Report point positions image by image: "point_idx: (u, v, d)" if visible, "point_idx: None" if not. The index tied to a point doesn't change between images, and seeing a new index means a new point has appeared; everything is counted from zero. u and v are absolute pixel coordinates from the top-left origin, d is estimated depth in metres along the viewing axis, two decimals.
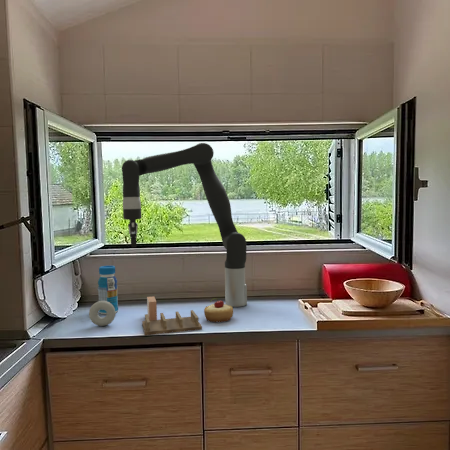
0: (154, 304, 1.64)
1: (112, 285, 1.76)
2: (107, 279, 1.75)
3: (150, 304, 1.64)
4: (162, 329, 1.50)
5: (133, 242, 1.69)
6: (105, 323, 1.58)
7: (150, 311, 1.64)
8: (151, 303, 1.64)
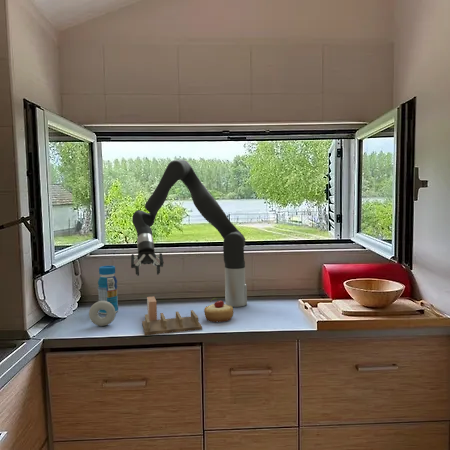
0: (154, 304, 1.64)
1: (112, 285, 1.76)
2: (107, 279, 1.75)
3: (150, 304, 1.64)
4: (162, 329, 1.50)
5: None
6: (105, 323, 1.58)
7: (150, 311, 1.64)
8: (151, 303, 1.64)
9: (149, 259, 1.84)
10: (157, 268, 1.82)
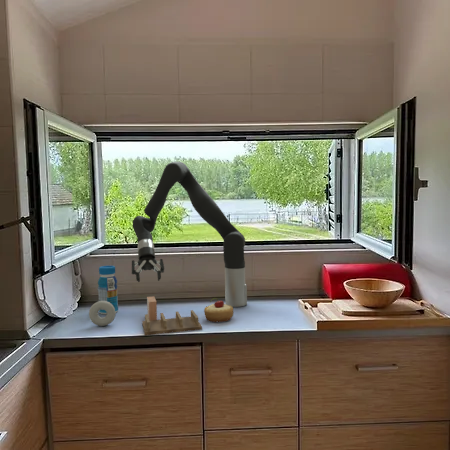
0: (154, 304, 1.64)
1: (112, 285, 1.76)
2: (107, 279, 1.75)
3: (150, 304, 1.64)
4: (162, 329, 1.50)
5: (136, 277, 1.79)
6: (105, 323, 1.58)
7: (150, 311, 1.64)
8: (151, 303, 1.64)
9: (150, 265, 1.83)
10: (158, 274, 1.81)
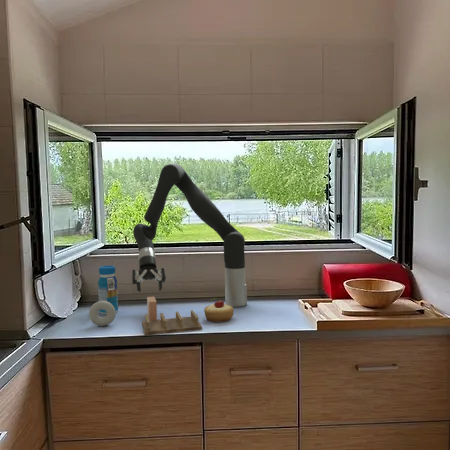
0: (154, 304, 1.64)
1: (112, 285, 1.76)
2: (107, 279, 1.75)
3: (150, 304, 1.64)
4: (162, 329, 1.50)
5: (137, 287, 1.75)
6: (105, 323, 1.58)
7: (150, 311, 1.64)
8: (151, 303, 1.64)
9: (151, 274, 1.79)
10: (159, 284, 1.76)
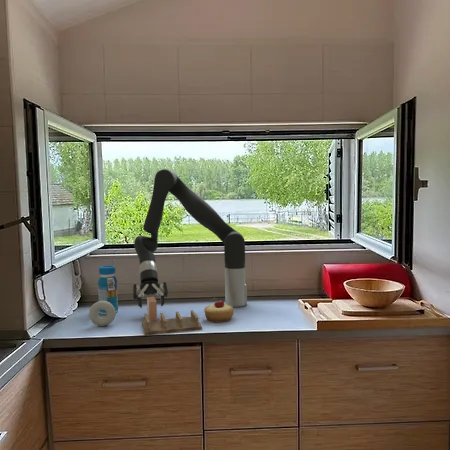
0: (154, 304, 1.64)
1: (112, 285, 1.76)
2: (107, 279, 1.75)
3: (150, 304, 1.64)
4: (162, 329, 1.50)
5: (138, 302, 1.69)
6: (105, 323, 1.58)
7: (150, 311, 1.64)
8: (151, 303, 1.64)
9: (152, 289, 1.73)
10: (161, 299, 1.70)
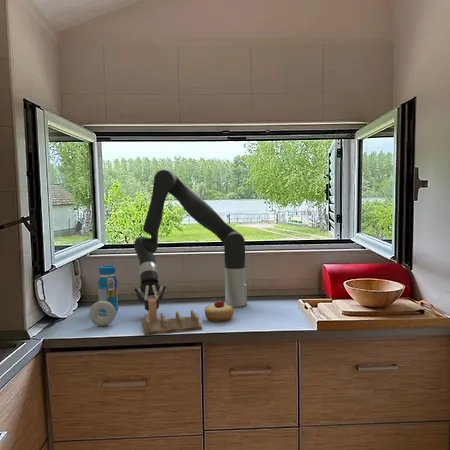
0: (154, 304, 1.64)
1: (112, 285, 1.76)
2: (107, 279, 1.75)
3: (150, 304, 1.64)
4: (162, 329, 1.50)
5: None
6: (105, 323, 1.58)
7: (150, 311, 1.64)
8: (151, 303, 1.64)
9: (151, 290, 1.72)
10: None
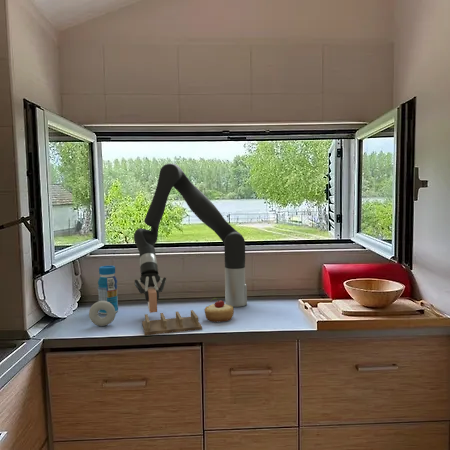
0: (154, 295, 1.64)
1: (112, 285, 1.76)
2: (107, 279, 1.75)
3: (150, 295, 1.64)
4: (162, 329, 1.50)
5: (145, 296, 1.68)
6: (105, 323, 1.58)
7: (150, 302, 1.64)
8: (151, 294, 1.64)
9: (151, 281, 1.72)
10: None
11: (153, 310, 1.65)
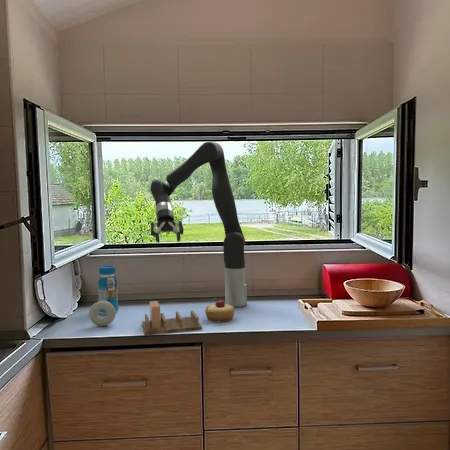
0: (157, 309, 1.52)
1: (112, 285, 1.76)
2: (107, 279, 1.75)
3: (153, 309, 1.51)
4: (162, 329, 1.50)
5: None
6: (105, 323, 1.58)
7: (153, 317, 1.51)
8: (154, 308, 1.51)
9: (169, 227, 1.81)
10: (177, 235, 1.79)
11: (156, 326, 1.52)
